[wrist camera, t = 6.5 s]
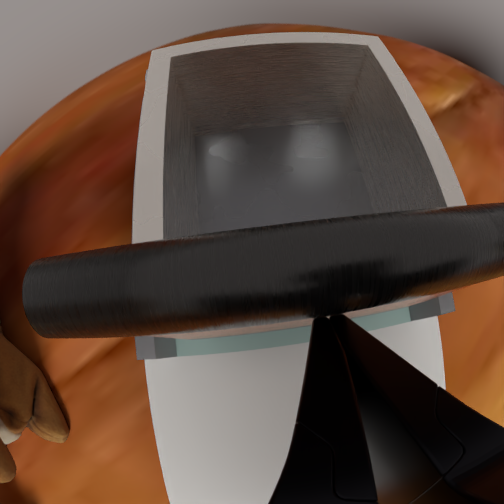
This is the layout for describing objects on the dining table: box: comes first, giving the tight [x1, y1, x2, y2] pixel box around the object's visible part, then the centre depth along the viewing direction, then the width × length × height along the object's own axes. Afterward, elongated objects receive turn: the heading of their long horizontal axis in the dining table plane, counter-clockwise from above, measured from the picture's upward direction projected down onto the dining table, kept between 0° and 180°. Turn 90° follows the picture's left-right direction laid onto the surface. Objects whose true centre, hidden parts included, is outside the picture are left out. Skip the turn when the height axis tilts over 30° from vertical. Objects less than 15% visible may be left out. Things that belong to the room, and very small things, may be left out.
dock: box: [132, 70, 455, 504], centre depth 12 cm, size 24×15×6 cm, turn 7°
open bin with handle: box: [22, 32, 504, 340], centre depth 10 cm, size 10×10×11 cm
